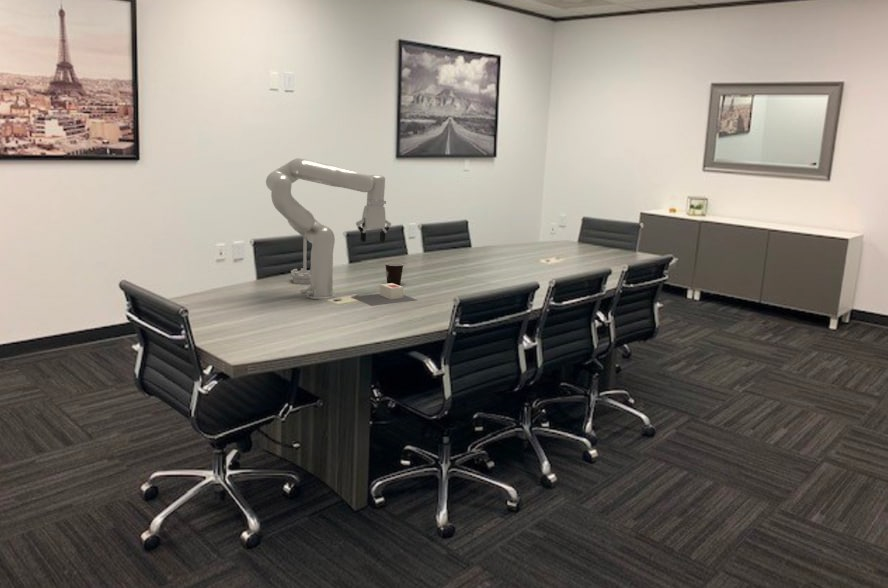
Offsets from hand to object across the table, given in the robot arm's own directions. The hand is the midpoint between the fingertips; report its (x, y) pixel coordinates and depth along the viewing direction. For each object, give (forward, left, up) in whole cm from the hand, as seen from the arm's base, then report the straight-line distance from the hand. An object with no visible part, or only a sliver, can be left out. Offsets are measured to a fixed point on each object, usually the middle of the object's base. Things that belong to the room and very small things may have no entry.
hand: (372, 241), depth 326 cm
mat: (-1, -13, -24) cm, 27 cm away
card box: (+4, -11, -24) cm, 26 cm away
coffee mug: (+22, +14, -24) cm, 36 cm away
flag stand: (-15, +36, -24) cm, 46 cm away
